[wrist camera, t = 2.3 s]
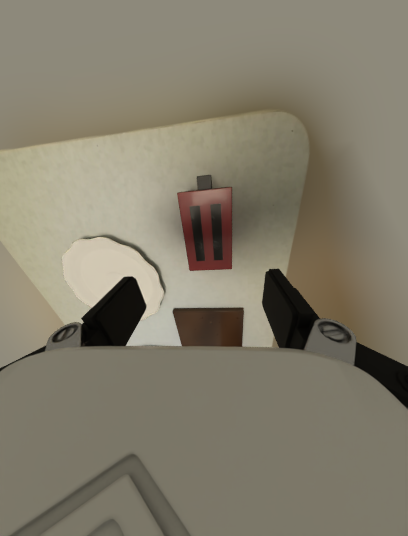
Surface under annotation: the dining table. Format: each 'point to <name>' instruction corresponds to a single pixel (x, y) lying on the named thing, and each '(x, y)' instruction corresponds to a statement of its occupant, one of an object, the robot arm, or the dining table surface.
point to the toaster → (207, 225)
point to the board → (210, 326)
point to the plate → (109, 271)
